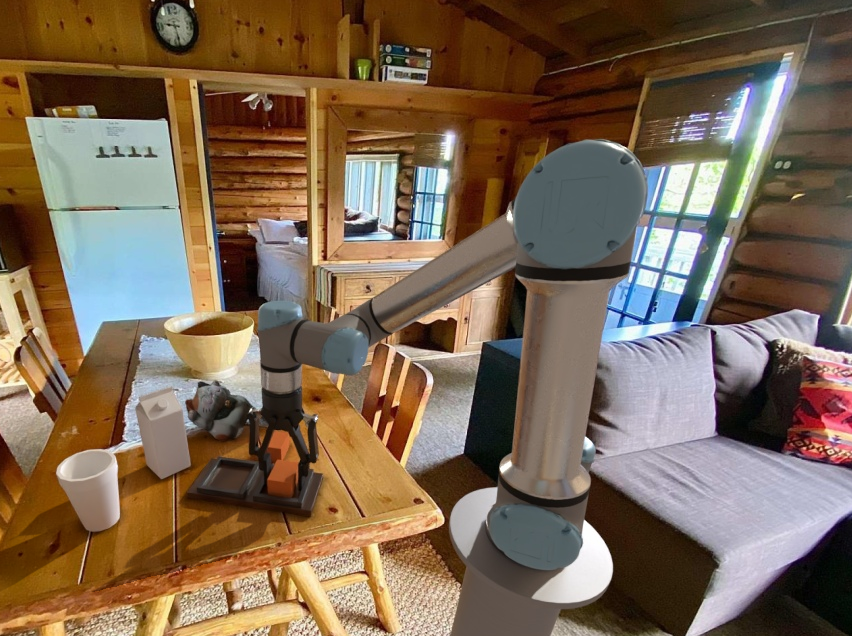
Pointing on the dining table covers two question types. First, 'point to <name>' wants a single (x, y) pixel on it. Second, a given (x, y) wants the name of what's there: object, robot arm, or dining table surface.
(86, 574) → the dining table surface
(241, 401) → the lucky cat figurine
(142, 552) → the dining table surface
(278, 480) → the pad
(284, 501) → the dark grey divided tray
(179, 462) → the milk carton
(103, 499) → the foam cup
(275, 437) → the pad
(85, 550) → the dining table surface
